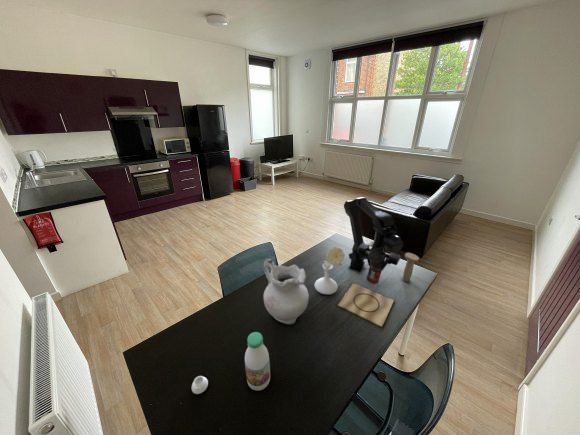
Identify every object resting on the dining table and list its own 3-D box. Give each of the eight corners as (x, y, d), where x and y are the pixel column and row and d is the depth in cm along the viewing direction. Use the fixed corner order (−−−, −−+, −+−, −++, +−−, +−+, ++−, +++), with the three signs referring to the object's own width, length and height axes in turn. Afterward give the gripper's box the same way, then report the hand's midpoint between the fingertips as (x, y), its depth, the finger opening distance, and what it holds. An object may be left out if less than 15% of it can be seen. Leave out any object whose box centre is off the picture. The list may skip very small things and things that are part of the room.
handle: (403, 275, 128) (409, 251, 122) (414, 282, 123) (421, 257, 117) (397, 278, 126) (403, 254, 119) (408, 285, 121) (414, 260, 114)
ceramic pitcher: (252, 319, 103) (245, 276, 91) (273, 288, 119) (270, 248, 106) (297, 338, 95) (296, 293, 83) (314, 302, 110) (315, 260, 98)
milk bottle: (248, 368, 83) (243, 328, 74) (270, 366, 84) (267, 326, 75) (246, 392, 76) (240, 351, 67) (270, 390, 77) (267, 348, 68)
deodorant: (378, 277, 123) (385, 254, 116) (378, 285, 118) (385, 261, 111) (366, 274, 125) (372, 251, 118) (366, 282, 120) (372, 258, 113)
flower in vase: (311, 293, 116) (313, 249, 105) (318, 278, 126) (320, 237, 115) (338, 300, 112) (343, 256, 101) (342, 285, 121) (347, 243, 111)
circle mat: (337, 305, 109) (337, 304, 109) (353, 284, 122) (353, 283, 122) (382, 327, 98) (382, 326, 98) (393, 301, 111) (394, 300, 111)
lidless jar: (205, 394, 76) (209, 378, 80) (204, 388, 74) (208, 372, 79) (189, 394, 76) (194, 378, 80) (188, 389, 74) (193, 373, 79)
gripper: (354, 241, 110) (351, 269, 117) (397, 255, 100) (390, 284, 107) (363, 232, 118) (359, 258, 125) (403, 243, 108) (397, 271, 115)
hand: (375, 267), depth 118 cm, fingers closed on deodorant, 6 cm apart
